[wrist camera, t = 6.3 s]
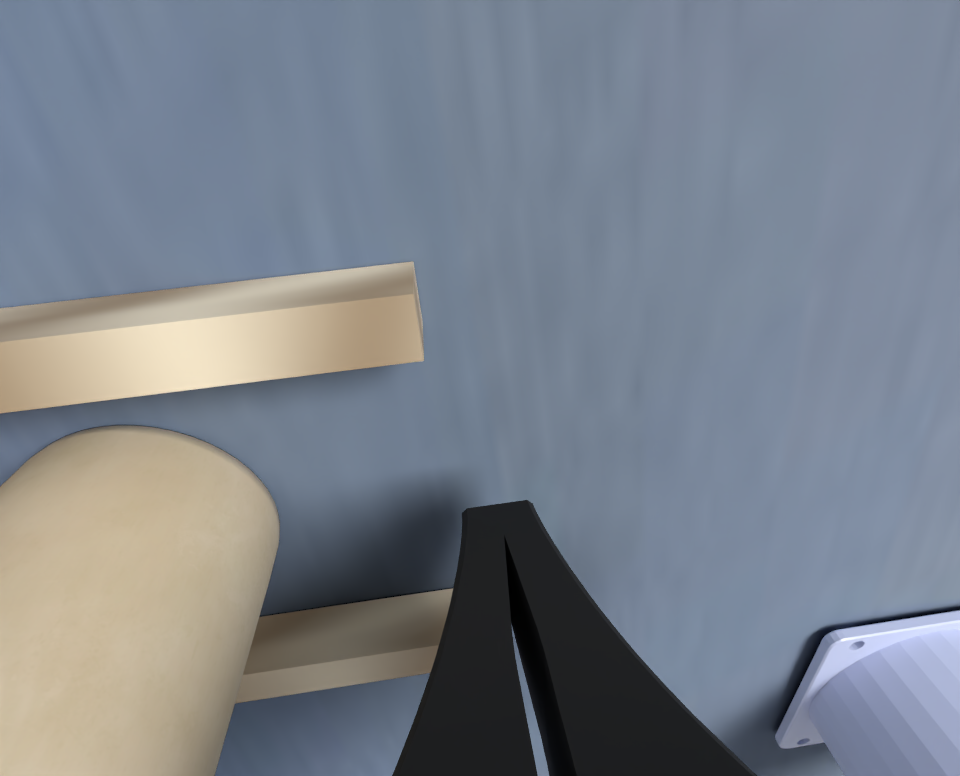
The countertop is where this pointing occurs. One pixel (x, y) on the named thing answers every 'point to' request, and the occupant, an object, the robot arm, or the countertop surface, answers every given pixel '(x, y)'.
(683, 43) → the countertop surface
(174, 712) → the candle
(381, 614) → the channel
